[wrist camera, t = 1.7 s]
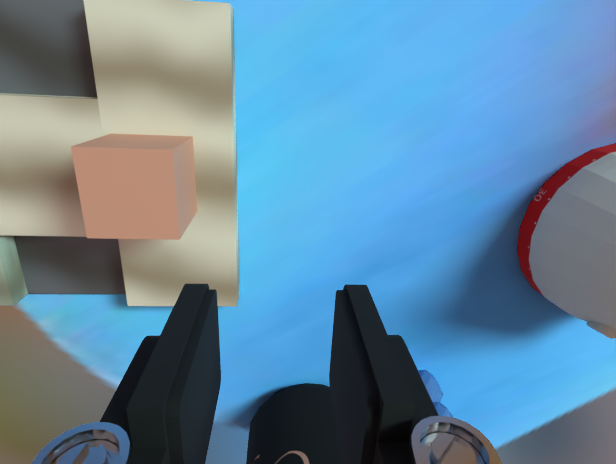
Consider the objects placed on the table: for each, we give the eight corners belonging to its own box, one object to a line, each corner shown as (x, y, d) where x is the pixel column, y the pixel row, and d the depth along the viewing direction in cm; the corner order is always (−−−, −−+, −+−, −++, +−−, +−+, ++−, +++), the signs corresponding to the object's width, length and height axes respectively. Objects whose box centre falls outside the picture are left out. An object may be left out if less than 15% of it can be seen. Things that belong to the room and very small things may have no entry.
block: (110, 133, 24) (70, 146, 20) (192, 136, 25) (172, 150, 20) (121, 209, 26) (87, 238, 21) (197, 211, 26) (179, 239, 22)
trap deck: (-195, -17, 22) (-238, -26, 20) (233, 9, 24) (229, 3, 22) (-81, 290, 29) (-106, 305, 27) (239, 292, 31) (237, 306, 29)
